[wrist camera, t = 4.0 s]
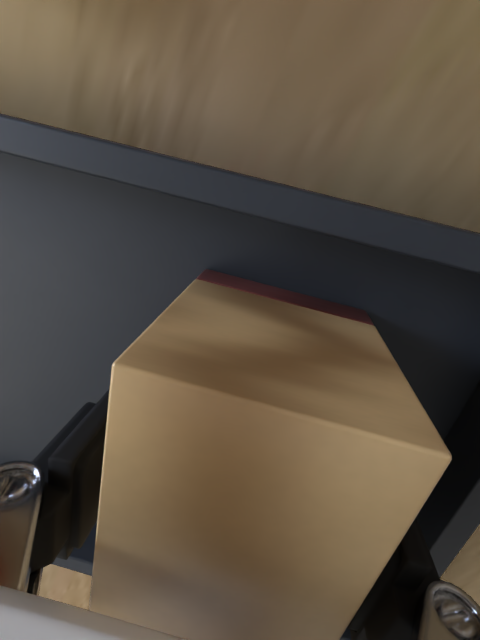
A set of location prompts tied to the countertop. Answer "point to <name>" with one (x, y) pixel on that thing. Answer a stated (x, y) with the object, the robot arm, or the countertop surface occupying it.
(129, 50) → the countertop surface
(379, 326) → the tray
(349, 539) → the wooden block
